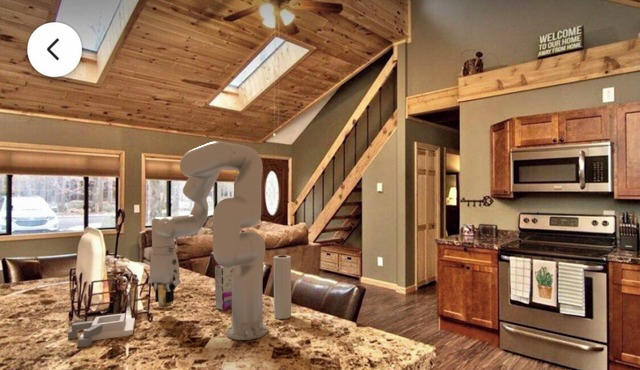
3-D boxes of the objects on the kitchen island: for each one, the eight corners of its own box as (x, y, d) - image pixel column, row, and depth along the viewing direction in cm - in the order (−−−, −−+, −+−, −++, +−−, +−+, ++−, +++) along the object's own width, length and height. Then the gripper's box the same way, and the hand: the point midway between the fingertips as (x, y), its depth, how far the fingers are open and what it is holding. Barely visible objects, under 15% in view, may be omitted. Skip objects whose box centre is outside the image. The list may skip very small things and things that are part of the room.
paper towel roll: (288, 320, 126) (287, 257, 126) (271, 319, 127) (271, 257, 128) (294, 313, 133) (293, 254, 133) (278, 312, 134) (277, 253, 135)
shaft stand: (131, 340, 110) (131, 326, 110) (60, 351, 103) (60, 336, 103) (134, 322, 125) (134, 310, 125) (73, 330, 118) (73, 318, 118)
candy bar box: (237, 301, 148) (237, 260, 149) (245, 303, 145) (245, 262, 146) (214, 308, 139) (214, 265, 140) (222, 311, 136) (222, 267, 137)
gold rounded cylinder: (172, 306, 131) (172, 284, 131) (156, 309, 129) (156, 286, 129) (172, 303, 136) (171, 281, 136) (156, 305, 134) (156, 283, 134)
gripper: (189, 249, 133) (190, 300, 133) (153, 248, 139) (154, 297, 139) (174, 253, 126) (175, 306, 126) (137, 251, 132) (138, 302, 132)
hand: (164, 301), depth 132 cm, fingers closed on gold rounded cylinder, 4 cm apart
